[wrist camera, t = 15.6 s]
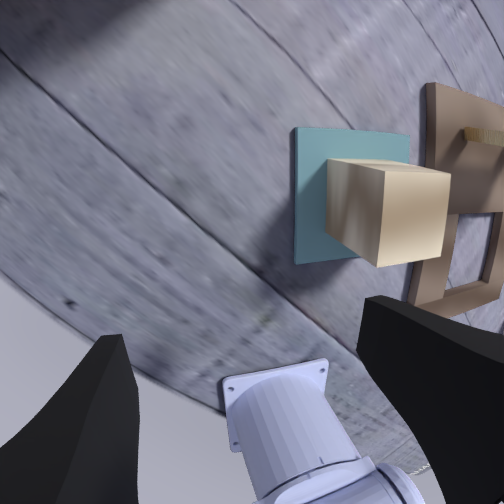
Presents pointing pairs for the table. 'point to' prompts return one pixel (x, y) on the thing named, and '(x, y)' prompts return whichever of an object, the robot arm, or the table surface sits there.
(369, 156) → the teal square plate
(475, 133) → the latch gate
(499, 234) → the puzzle board
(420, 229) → the birch block
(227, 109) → the table surface
